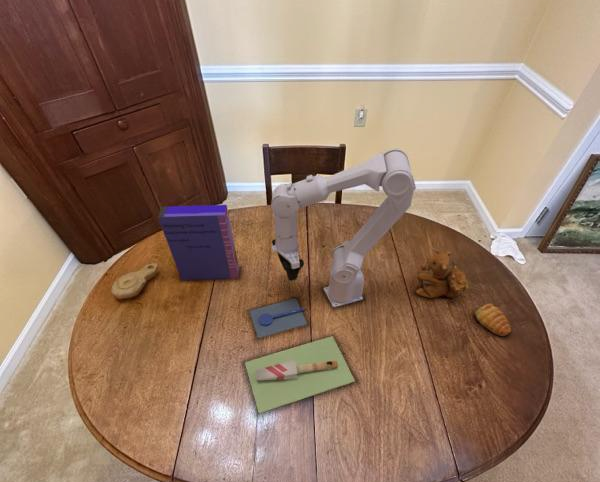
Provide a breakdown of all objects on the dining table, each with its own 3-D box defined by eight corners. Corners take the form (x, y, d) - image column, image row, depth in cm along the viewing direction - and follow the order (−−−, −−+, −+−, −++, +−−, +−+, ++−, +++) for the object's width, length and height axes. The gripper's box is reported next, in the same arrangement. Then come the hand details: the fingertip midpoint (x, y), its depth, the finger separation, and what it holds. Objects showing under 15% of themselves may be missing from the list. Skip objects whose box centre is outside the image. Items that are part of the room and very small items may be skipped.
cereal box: (239, 268, 112) (226, 204, 95) (237, 278, 109) (224, 214, 91) (184, 269, 112) (161, 205, 94) (181, 280, 109) (157, 216, 91)
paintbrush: (255, 364, 84) (335, 354, 87) (255, 370, 86) (334, 360, 89) (256, 379, 81) (339, 368, 84) (256, 384, 83) (338, 374, 86)
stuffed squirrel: (419, 272, 110) (430, 239, 100) (466, 288, 105) (482, 255, 95) (409, 292, 104) (420, 259, 94) (458, 310, 99) (474, 278, 89)
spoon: (302, 304, 101) (302, 302, 100) (307, 314, 98) (307, 312, 97) (257, 317, 98) (256, 314, 97) (260, 327, 95) (260, 325, 95)
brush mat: (332, 336, 94) (332, 335, 93) (354, 381, 84) (355, 380, 84) (244, 363, 88) (244, 362, 88) (258, 414, 79) (258, 413, 79)
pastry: (515, 331, 94) (521, 323, 91) (496, 341, 92) (502, 332, 89) (488, 307, 100) (493, 298, 97) (470, 315, 98) (475, 307, 95)
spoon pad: (295, 299, 103) (295, 298, 103) (307, 324, 96) (307, 323, 96) (249, 311, 100) (249, 310, 100) (258, 338, 93) (258, 338, 93)
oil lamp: (163, 271, 111) (158, 260, 108) (145, 306, 102) (138, 294, 98) (131, 269, 112) (125, 258, 109) (110, 303, 103) (103, 292, 99)
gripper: (263, 218, 92) (267, 257, 101) (279, 253, 82) (282, 291, 92) (288, 213, 93) (290, 251, 103) (307, 246, 84) (307, 285, 94)
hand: (288, 270), depth 98 cm, fingers open, 7 cm apart
